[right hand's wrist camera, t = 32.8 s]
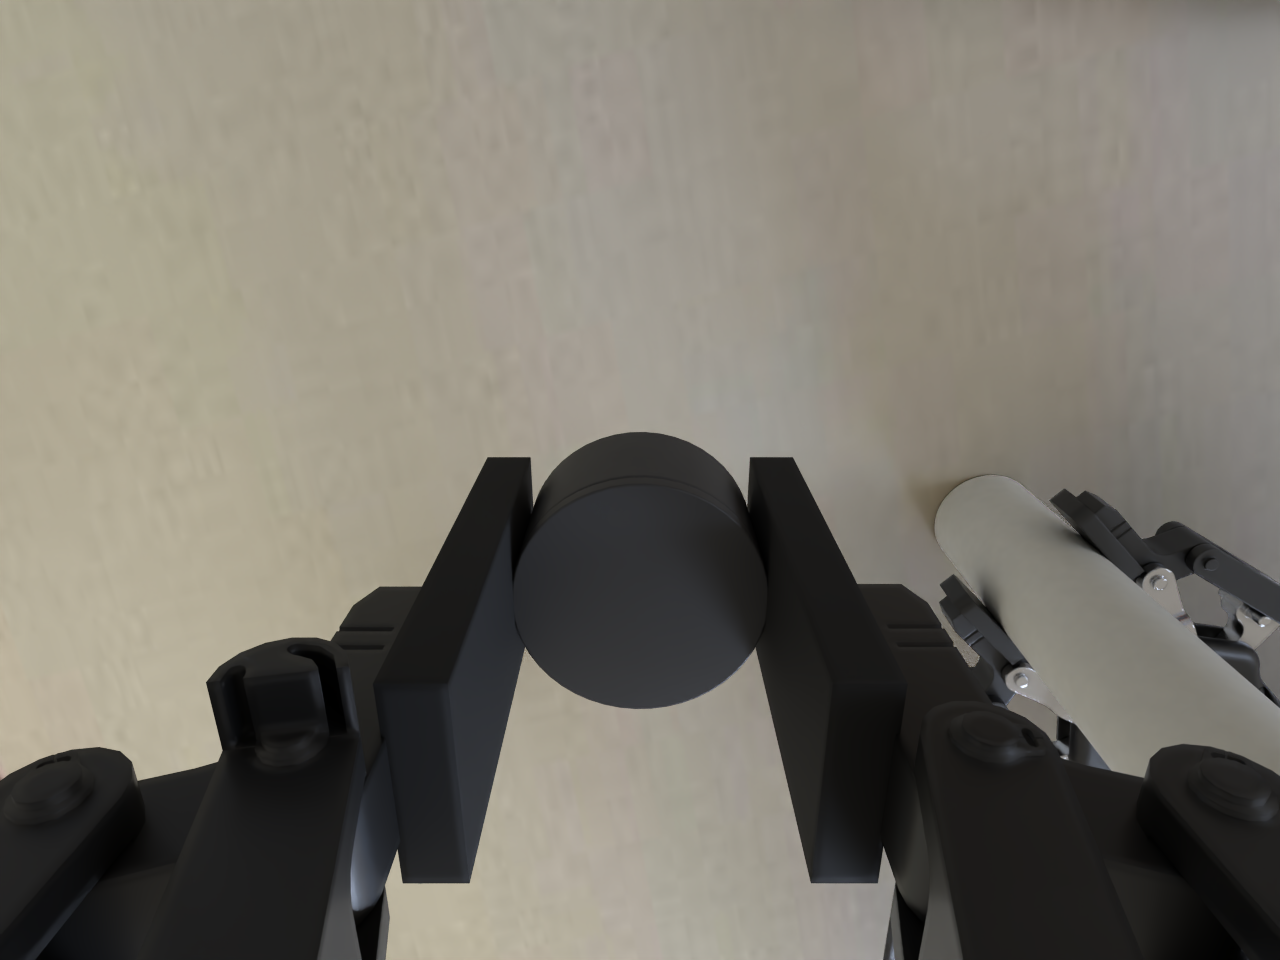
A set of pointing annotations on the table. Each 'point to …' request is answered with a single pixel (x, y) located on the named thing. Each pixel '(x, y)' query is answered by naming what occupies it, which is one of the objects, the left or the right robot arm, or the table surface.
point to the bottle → (1099, 634)
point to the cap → (640, 573)
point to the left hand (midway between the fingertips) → (1009, 548)
